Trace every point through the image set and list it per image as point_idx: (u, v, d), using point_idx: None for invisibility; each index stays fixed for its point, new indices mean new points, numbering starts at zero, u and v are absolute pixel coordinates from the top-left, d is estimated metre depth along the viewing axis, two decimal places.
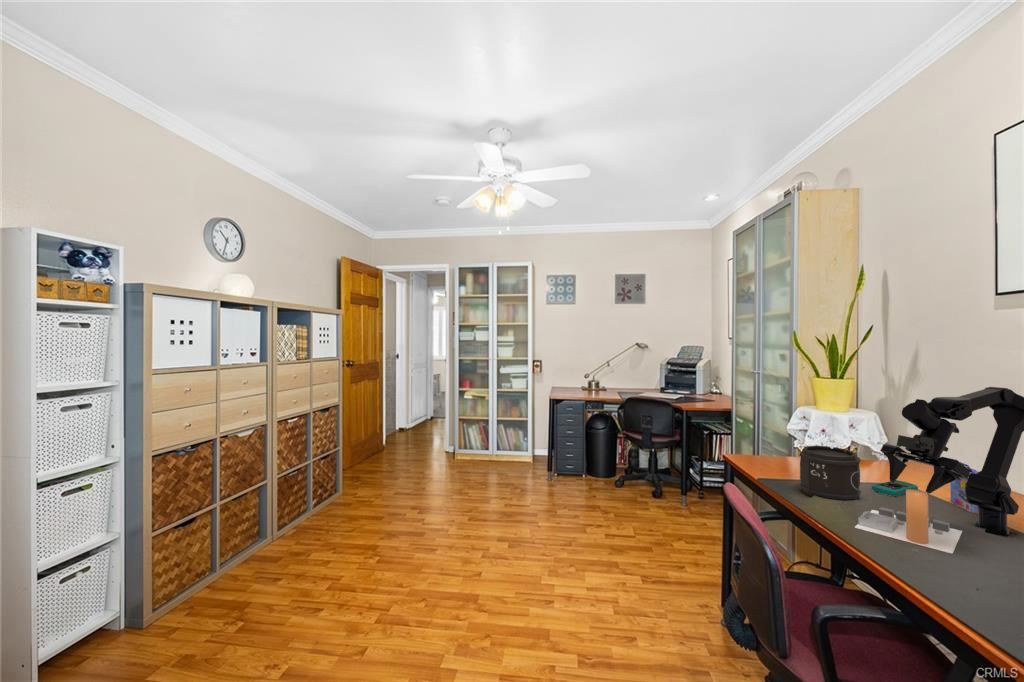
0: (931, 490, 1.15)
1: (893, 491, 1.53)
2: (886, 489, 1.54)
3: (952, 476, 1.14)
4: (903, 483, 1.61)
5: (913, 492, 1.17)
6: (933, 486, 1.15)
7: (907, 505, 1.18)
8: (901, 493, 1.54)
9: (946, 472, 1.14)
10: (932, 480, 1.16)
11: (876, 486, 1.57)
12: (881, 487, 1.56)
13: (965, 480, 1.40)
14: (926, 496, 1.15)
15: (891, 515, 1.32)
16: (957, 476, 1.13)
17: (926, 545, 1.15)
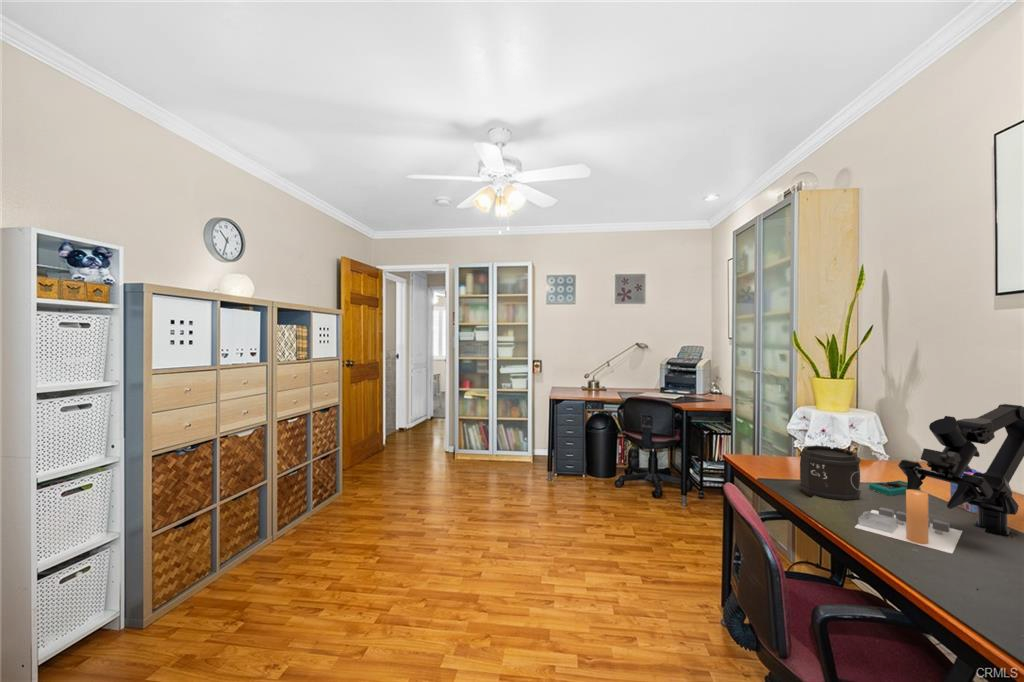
0: (953, 505, 1.14)
1: (888, 490, 1.54)
2: (881, 488, 1.56)
3: (975, 493, 1.13)
4: (906, 484, 1.60)
5: (913, 492, 1.17)
6: (955, 502, 1.14)
7: (907, 505, 1.18)
8: (898, 493, 1.54)
9: (971, 488, 1.13)
10: (955, 495, 1.14)
11: (873, 485, 1.59)
12: (877, 486, 1.57)
13: None
14: (926, 496, 1.15)
15: (891, 515, 1.32)
16: (980, 494, 1.13)
17: (926, 545, 1.15)
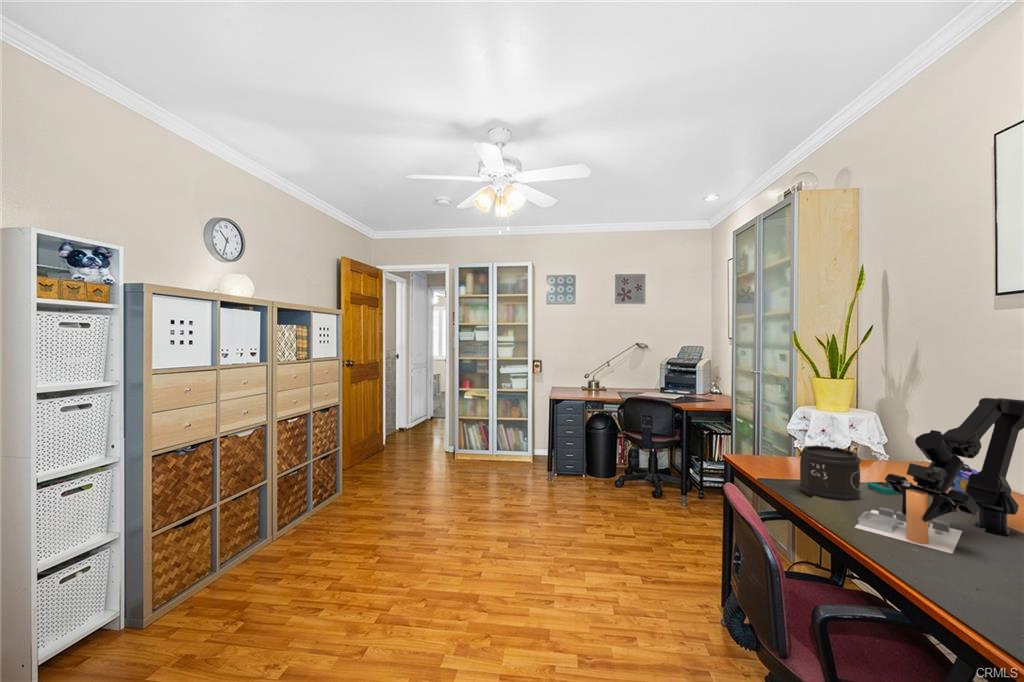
0: (928, 518, 1.15)
1: (882, 488, 1.55)
2: (877, 486, 1.57)
3: (950, 506, 1.13)
4: None
5: (913, 492, 1.17)
6: (930, 515, 1.14)
7: (907, 505, 1.18)
8: (894, 492, 1.55)
9: (945, 502, 1.13)
10: (930, 508, 1.15)
11: (870, 483, 1.60)
12: (873, 484, 1.59)
13: (965, 480, 1.40)
14: (926, 496, 1.15)
15: (891, 515, 1.32)
16: (955, 508, 1.13)
17: (926, 545, 1.15)
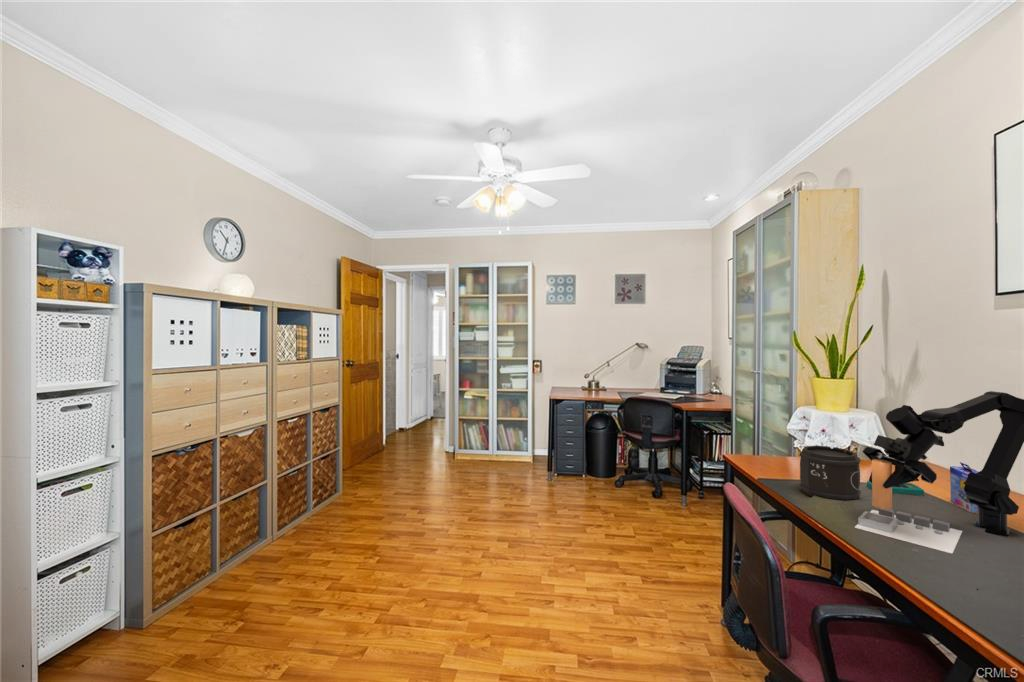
0: (888, 485, 1.23)
1: None
2: None
3: (911, 475, 1.21)
4: (913, 486, 1.57)
5: (877, 461, 1.26)
6: (890, 482, 1.23)
7: (872, 473, 1.27)
8: None
9: (905, 470, 1.21)
10: (891, 476, 1.23)
11: (868, 481, 1.62)
12: (870, 482, 1.61)
13: (965, 480, 1.40)
14: (888, 465, 1.24)
15: (891, 515, 1.32)
16: (916, 476, 1.20)
17: (926, 545, 1.15)
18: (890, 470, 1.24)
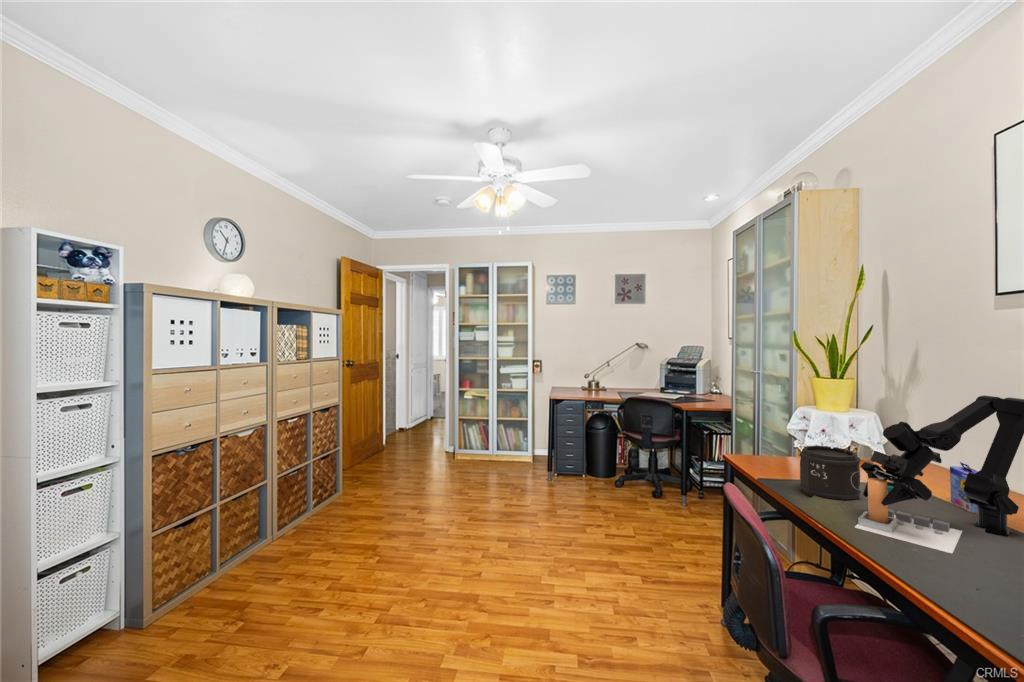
0: (887, 502, 1.23)
1: None
2: None
3: (909, 493, 1.21)
4: None
5: (872, 480, 1.27)
6: (889, 499, 1.23)
7: (868, 492, 1.28)
8: None
9: (904, 488, 1.21)
10: (890, 493, 1.23)
11: None
12: None
13: (965, 480, 1.40)
14: (883, 484, 1.25)
15: (891, 515, 1.32)
16: (914, 494, 1.20)
17: (926, 545, 1.15)
18: (885, 489, 1.25)
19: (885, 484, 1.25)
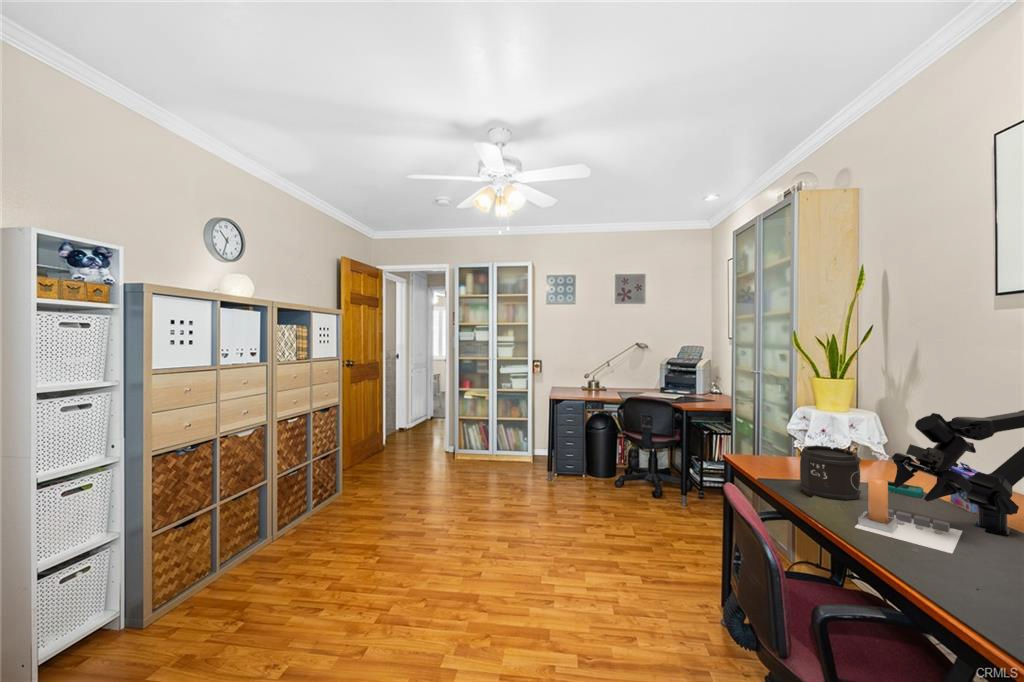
0: (930, 498, 1.21)
1: None
2: None
3: (953, 488, 1.19)
4: (917, 489, 1.54)
5: (873, 480, 1.27)
6: (932, 495, 1.21)
7: (868, 492, 1.28)
8: None
9: (948, 484, 1.19)
10: (933, 489, 1.21)
11: None
12: None
13: None
14: (883, 484, 1.25)
15: (891, 515, 1.32)
16: (958, 490, 1.18)
17: (926, 545, 1.15)
18: (886, 489, 1.25)
19: (886, 484, 1.25)
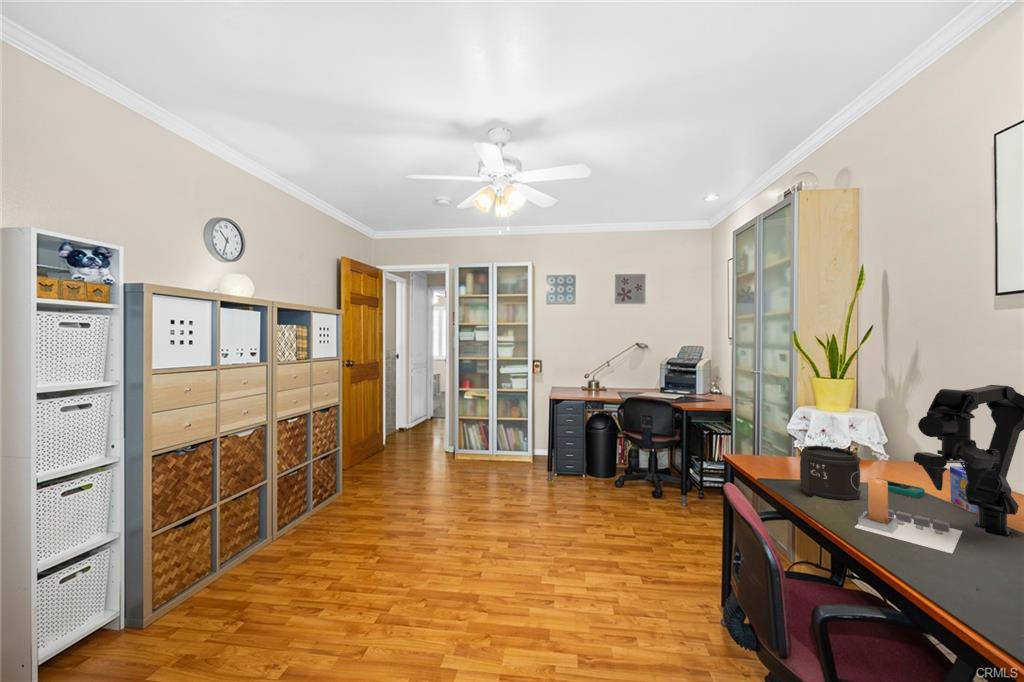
0: None
1: None
2: None
3: None
4: (917, 490, 1.54)
5: (873, 480, 1.27)
6: None
7: (868, 492, 1.28)
8: None
9: None
10: (978, 479, 1.21)
11: None
12: None
13: (965, 480, 1.40)
14: (883, 484, 1.25)
15: (891, 515, 1.32)
16: None
17: (926, 545, 1.15)
18: (886, 489, 1.25)
19: (886, 484, 1.25)
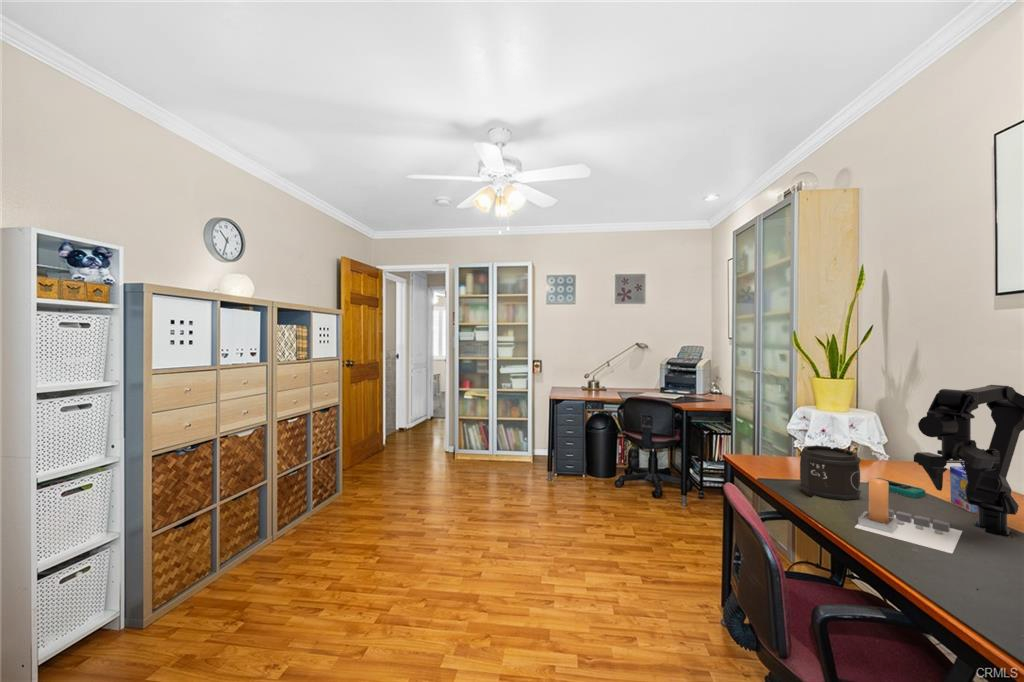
0: None
1: (868, 481, 1.64)
2: None
3: None
4: None
5: (874, 480, 1.27)
6: None
7: (869, 492, 1.28)
8: None
9: None
10: (978, 479, 1.21)
11: None
12: None
13: (965, 480, 1.40)
14: (884, 484, 1.25)
15: (891, 515, 1.32)
16: None
17: (926, 545, 1.15)
18: (887, 490, 1.25)
19: (886, 485, 1.25)
